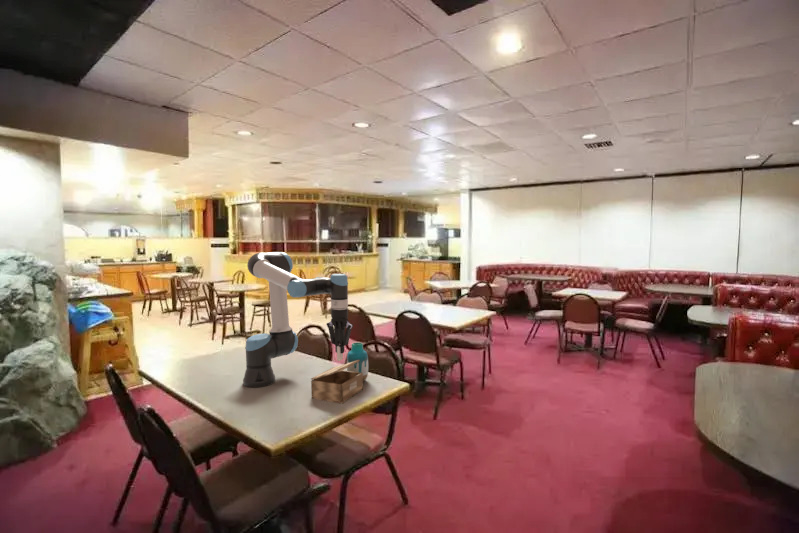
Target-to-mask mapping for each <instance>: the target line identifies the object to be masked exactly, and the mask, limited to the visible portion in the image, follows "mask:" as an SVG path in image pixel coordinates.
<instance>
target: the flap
mask: <svg viewBox="0 0 799 533" xmlns="http://www.w3.org/2000/svg"><path fill="white" fill-rule="evenodd" d="M359 361H360V360H356V361H354V362H350V363H347V362H346V363H343V364H340V365H337V366H334V367H331V368H329V369H327V370H325V371H323V372H321V373H319V374H317V375H315V376H313V377H312V378H310V379H311V381H312V380H313V379H316V378H320V377H323V376H327V375H330V374H334V373H337V372H340V371H342V370H347V368H348V367H350V366H352V365H353V364H355V363H357V362H359Z"/></svg>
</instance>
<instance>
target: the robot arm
mask: <svg viewBox="0 0 799 533" xmlns="http://www.w3.org/2000/svg"><path fill="white" fill-rule="evenodd" d="M247 261H248V262H247V270H248V272H249V273H250V274H251V275H252V276H254V277H255V278H258V279H265V280H267V281H268V288H269V290H268V291H269V302H270V303H269V304H270V305H269V306H270V316H271V317H270V318H271V328H270V330H269V333H264V332H263V333H257V334H254V335H251V336H250V337H247V339H246V340H245V348H244V349H245V361H246V362H245V364H246V366H245V367H246V368H245V369H246V370H245V372H244V376H243V379H242V382H243V383H242V384H243V386H244V387H247V388H261V387H262V388H263V387H266V386H267V387H268V386H269V385H273V384H274V383H275V382H276V375H275V373H274V370H273V367H272V359H275V358H279V357H282V356H288V355H290V354H293V353H294V352H295V350H297V348H298V344H299V338H298V335H297V333H296V332H295V331H294V330H293V328H292V327H291V326H290V318H289V317H290V316H289V306H288V304H289V303H288V295H289V296H290V297H291V298H302V297H303V298H305V297H309V296H317V295H330V308H331V310H330V312H331V313H330V315H331V319H330V320H329V322H326V327H327V328H328V332H329V336H330V342H331V344H332V345H334V346H335V353H336V361H338V362H341V361H342V360H344V353H345V346H347V345H348V344H349V341H350V338H351V332H352V329H353V327H354V324H351V323H350V322H349V319H348V318H349V309H348V308H349V299H348V296H349V293H348V291H349V288H348V287H349V286H348V285H349V282H348V280H349V279H348V275H347V274H346V273H345V274H344V273H332V274H331V275H330V277H326V276H325V277H324V276H316V277H313V278H302V277H299V275H295V274H293V273H291V272H292V270H293V266H294V265H293V260H292V258H291V256H290V255H289V254H288V253H286V252H283V251H272V252H270V251H269V252H257V253H255V254H253V255H251V256H250V258H249V259H248V260H247Z"/></svg>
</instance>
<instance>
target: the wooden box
mask: <svg viewBox="0 0 799 533" xmlns="http://www.w3.org/2000/svg"><path fill="white" fill-rule="evenodd" d="M310 382H311V383H310V384H311V386H310V387H311V399H314V400H319V401H325V402H330V403H337V404H340V405H341V404H342V405H343V404H344V403H346V402H347V401H349V400H350V399H352V398H353V397H355V396H356V395H358V394H359V393H360V392H362V391H364V381H363V373H359V372H352V371H347V370H346V369H344V370H342V371H340V372H337V373H334V374H330V375H327V376H323V377H320V378H316V379H313V380H311V381H310ZM351 397H352V398H351Z"/></svg>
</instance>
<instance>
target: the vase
mask: <svg viewBox="0 0 799 533" xmlns="http://www.w3.org/2000/svg"><path fill="white" fill-rule="evenodd" d="M363 344H364V343H362V342H360V341H359V342H352V343H351V350H349V351H348V352H347V355H346V364H347V363H350V362H354V361H356V360H360V361H359V362H357V363H355V364H353V365H352V366H350V367H348V368H346V371H352V372H359V373H363V382H364V381H366V380H367V379H368V375H369V356H368V353H367V351H366V350H364V345H363Z"/></svg>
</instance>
